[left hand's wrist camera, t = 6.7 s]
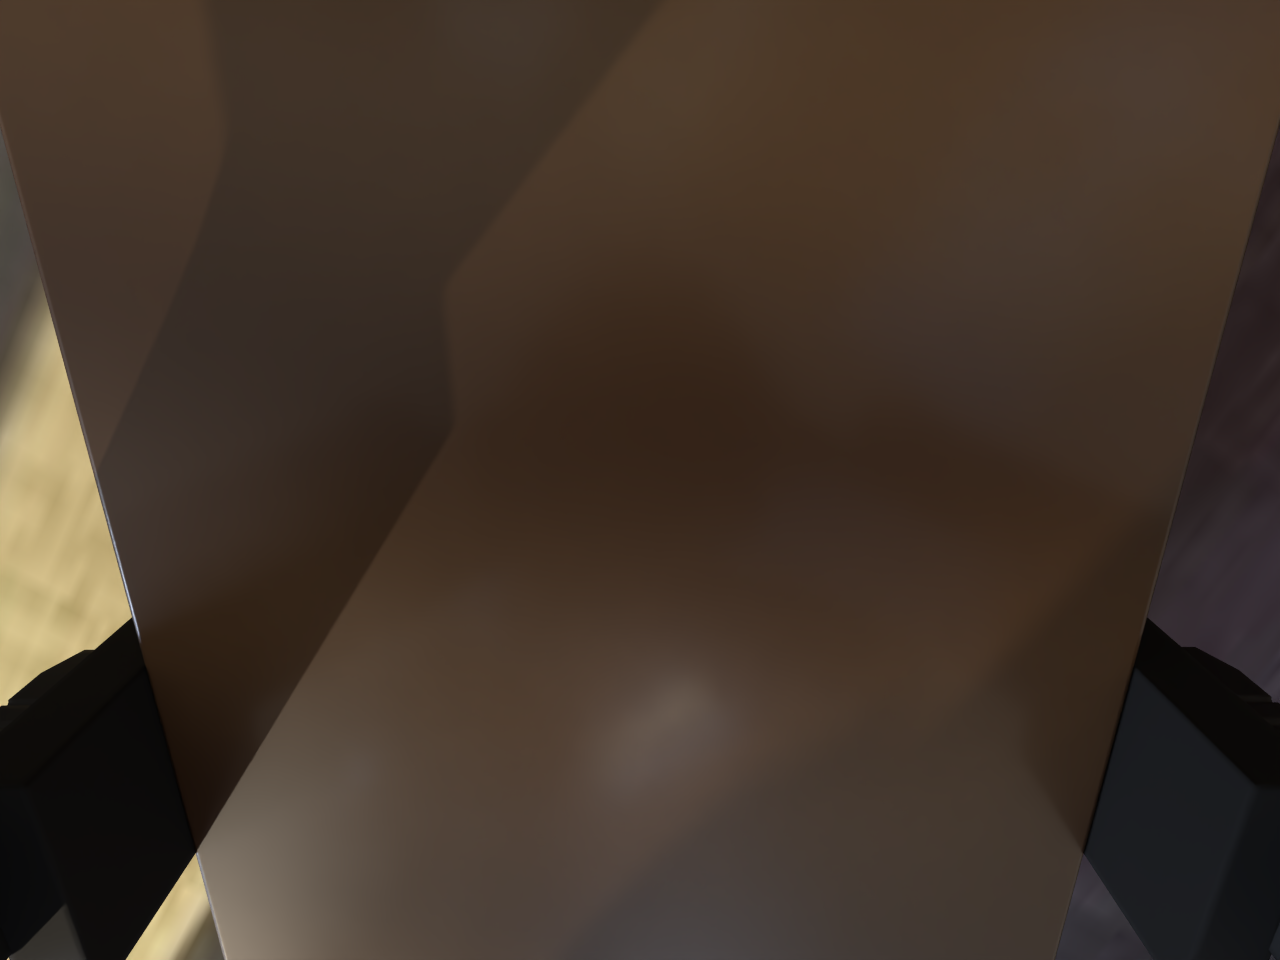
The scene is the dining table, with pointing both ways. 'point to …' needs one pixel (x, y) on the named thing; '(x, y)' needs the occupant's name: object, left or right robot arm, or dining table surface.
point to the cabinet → (639, 443)
